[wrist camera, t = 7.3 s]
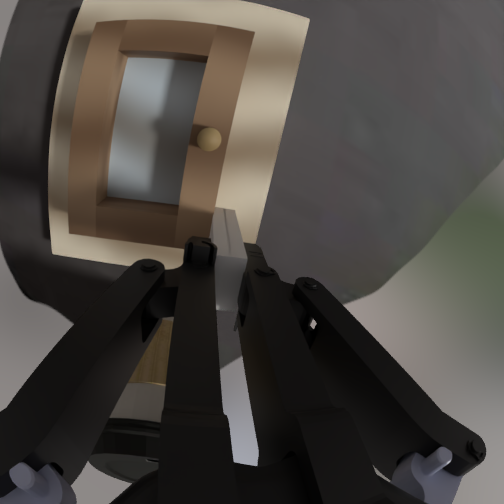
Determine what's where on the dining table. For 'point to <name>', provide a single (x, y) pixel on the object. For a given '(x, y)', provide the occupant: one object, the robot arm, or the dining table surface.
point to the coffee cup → (137, 416)
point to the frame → (153, 129)
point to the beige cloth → (242, 130)
